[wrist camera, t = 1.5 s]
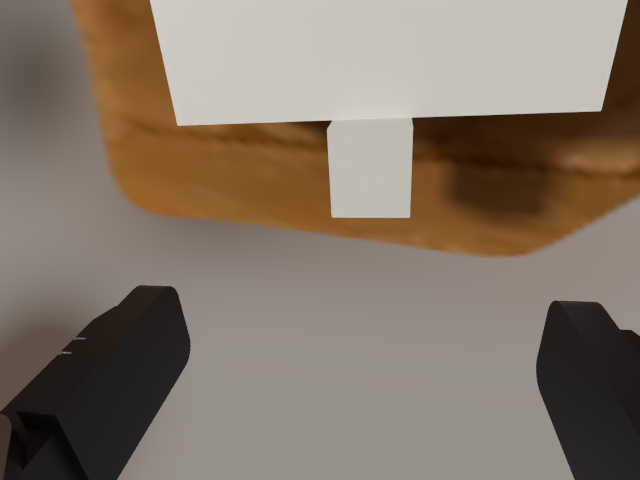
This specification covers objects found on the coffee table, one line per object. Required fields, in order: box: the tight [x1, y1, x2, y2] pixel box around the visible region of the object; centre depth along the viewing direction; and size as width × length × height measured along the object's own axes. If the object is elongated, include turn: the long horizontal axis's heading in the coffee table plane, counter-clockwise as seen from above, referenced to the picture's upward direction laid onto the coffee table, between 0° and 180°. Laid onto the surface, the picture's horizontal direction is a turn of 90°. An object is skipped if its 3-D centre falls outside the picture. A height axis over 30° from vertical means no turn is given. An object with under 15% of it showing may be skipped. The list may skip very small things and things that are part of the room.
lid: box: [150, 0, 628, 218], centre depth 17 cm, size 17×19×4 cm
